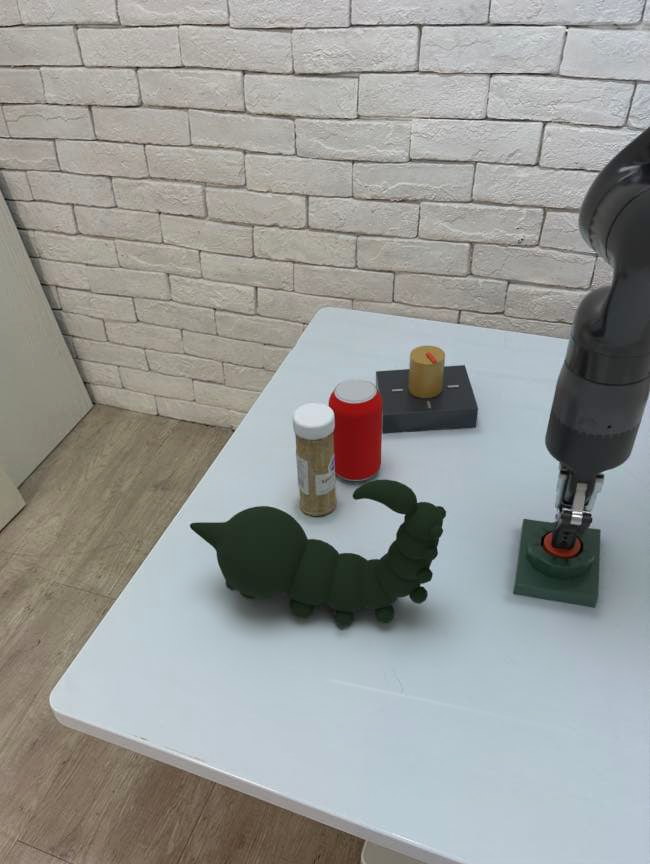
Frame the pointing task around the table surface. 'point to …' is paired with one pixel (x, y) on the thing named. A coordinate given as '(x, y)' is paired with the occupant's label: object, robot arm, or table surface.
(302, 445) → the spice jar
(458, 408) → the panel
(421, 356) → the knob
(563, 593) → the button box
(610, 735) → the table surface
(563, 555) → the button
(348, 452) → the beverage can
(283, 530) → the toy figurine
